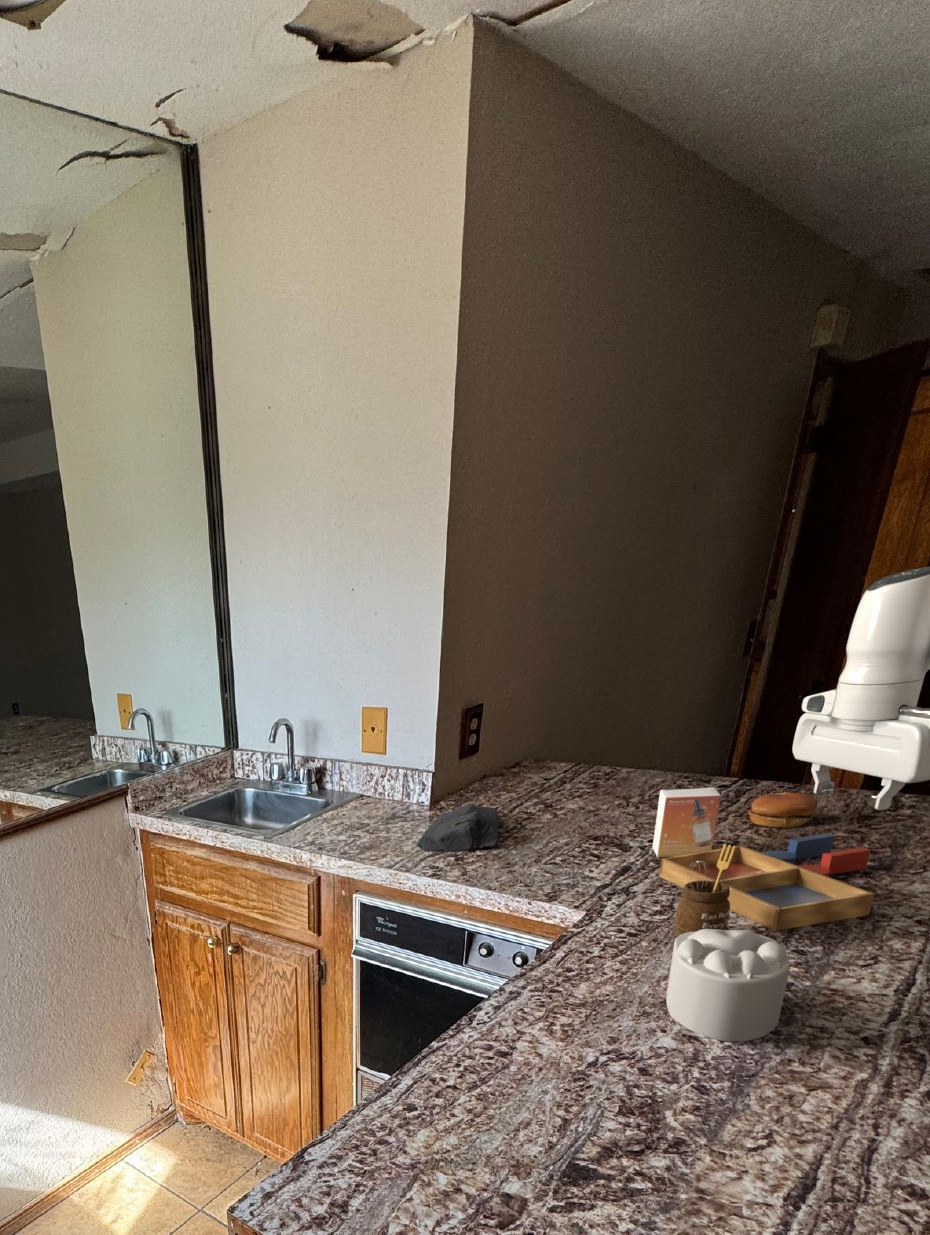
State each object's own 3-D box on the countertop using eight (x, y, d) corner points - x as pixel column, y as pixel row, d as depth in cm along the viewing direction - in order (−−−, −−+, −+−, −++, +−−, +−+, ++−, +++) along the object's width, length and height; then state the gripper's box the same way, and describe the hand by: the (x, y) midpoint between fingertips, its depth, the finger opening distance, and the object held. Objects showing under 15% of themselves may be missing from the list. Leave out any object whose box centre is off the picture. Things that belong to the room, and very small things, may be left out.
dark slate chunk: (509, 818, 164) (509, 796, 162) (495, 851, 147) (496, 827, 145) (434, 819, 171) (434, 798, 169) (412, 851, 154) (412, 828, 152)
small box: (656, 858, 132) (664, 797, 128) (651, 848, 137) (659, 788, 132) (712, 857, 129) (722, 794, 125) (705, 847, 134) (715, 786, 129)
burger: (766, 831, 136) (771, 805, 134) (736, 818, 144) (740, 793, 142) (828, 824, 135) (834, 798, 133) (794, 811, 143) (799, 786, 141)
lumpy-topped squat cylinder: (765, 989, 91) (780, 921, 88) (789, 1046, 81) (806, 972, 77) (662, 983, 96) (672, 918, 92) (672, 1036, 86) (683, 966, 82)
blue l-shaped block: (815, 848, 126) (818, 830, 125) (838, 856, 122) (842, 838, 121) (754, 859, 126) (757, 841, 125) (775, 866, 122) (778, 848, 121)
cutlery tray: (737, 863, 125) (740, 845, 124) (869, 915, 104) (874, 893, 102) (658, 876, 125) (661, 858, 124) (774, 931, 104) (779, 909, 102)
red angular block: (848, 863, 119) (853, 844, 118) (874, 871, 116) (879, 852, 114) (784, 873, 119) (788, 855, 118) (807, 882, 115) (812, 863, 114)
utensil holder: (662, 934, 107) (674, 851, 102) (696, 922, 109) (709, 839, 104) (703, 947, 102) (717, 861, 97) (737, 935, 104) (753, 849, 99)
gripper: (972, 706, 98) (939, 814, 104) (834, 691, 116) (813, 783, 122) (924, 714, 97) (893, 821, 103) (793, 697, 116) (774, 789, 122)
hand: (849, 801), depth 113 cm, fingers open, 8 cm apart
